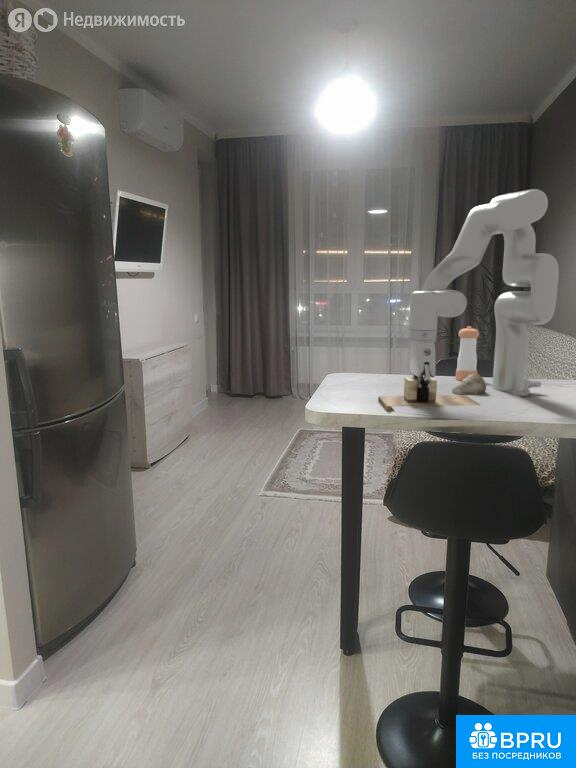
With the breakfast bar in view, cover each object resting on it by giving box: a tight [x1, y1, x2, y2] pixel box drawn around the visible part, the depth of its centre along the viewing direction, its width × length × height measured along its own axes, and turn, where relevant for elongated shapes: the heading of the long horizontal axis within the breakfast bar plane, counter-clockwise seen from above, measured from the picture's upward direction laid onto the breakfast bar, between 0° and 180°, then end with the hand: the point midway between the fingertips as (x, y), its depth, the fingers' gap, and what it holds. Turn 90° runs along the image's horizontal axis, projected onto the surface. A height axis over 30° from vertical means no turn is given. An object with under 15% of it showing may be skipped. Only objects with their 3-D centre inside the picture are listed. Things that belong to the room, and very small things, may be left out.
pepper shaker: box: [455, 325, 480, 382], centre depth 183 cm, size 7×7×19 cm
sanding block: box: [403, 377, 438, 402], centre depth 146 cm, size 8×4×6 cm, turn 92°
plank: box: [377, 394, 481, 412], centre depth 147 cm, size 26×12×2 cm, turn 91°
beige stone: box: [451, 373, 487, 395], centre depth 157 cm, size 8×10×10 cm
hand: (419, 398), depth 147 cm, fingers closed on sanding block, 4 cm apart
